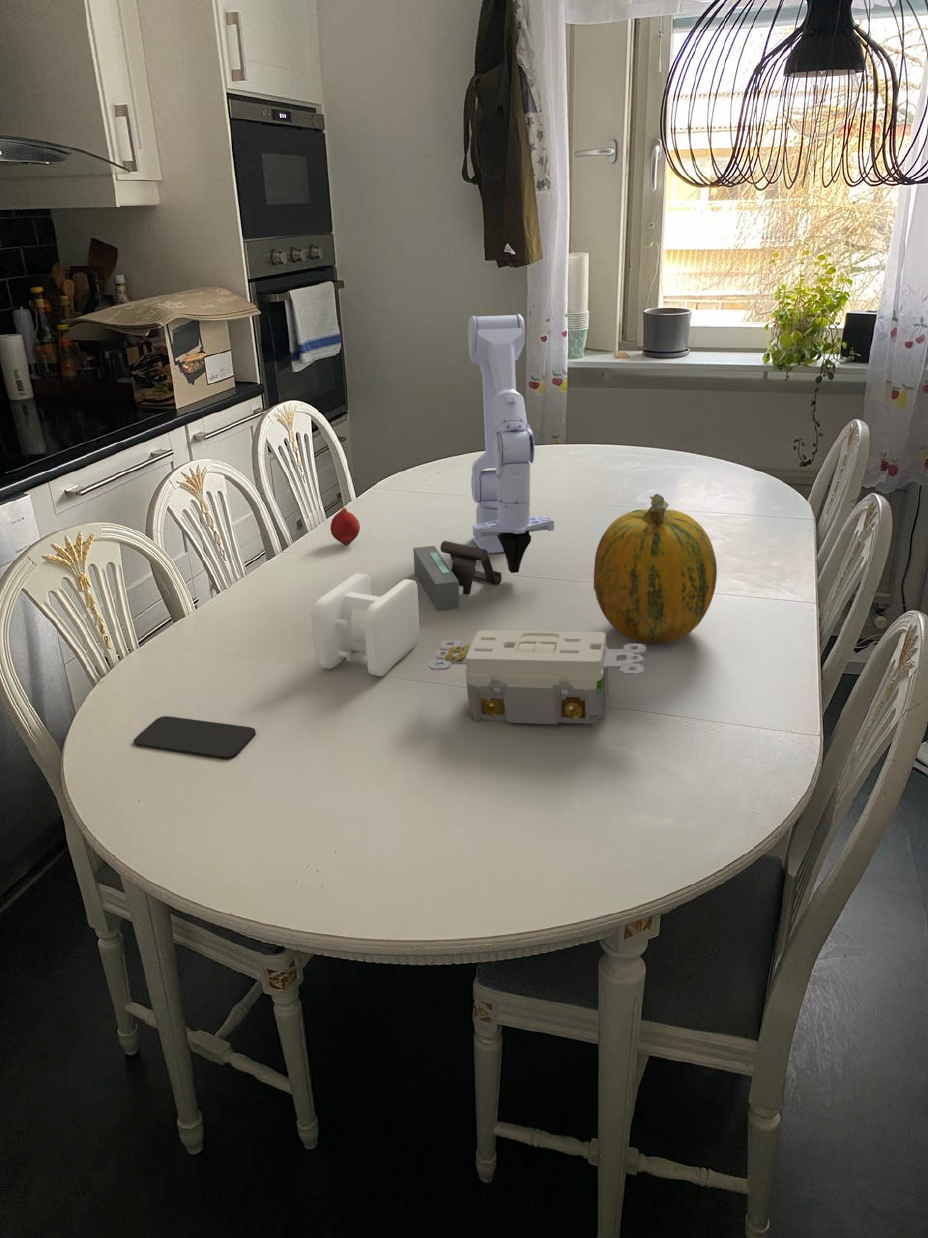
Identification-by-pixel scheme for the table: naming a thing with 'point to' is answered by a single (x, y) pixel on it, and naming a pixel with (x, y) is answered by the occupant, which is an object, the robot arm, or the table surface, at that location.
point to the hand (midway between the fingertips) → (513, 570)
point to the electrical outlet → (538, 674)
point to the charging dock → (436, 578)
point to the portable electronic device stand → (470, 565)
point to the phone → (195, 737)
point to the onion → (345, 527)
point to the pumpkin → (655, 573)
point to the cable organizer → (365, 624)
